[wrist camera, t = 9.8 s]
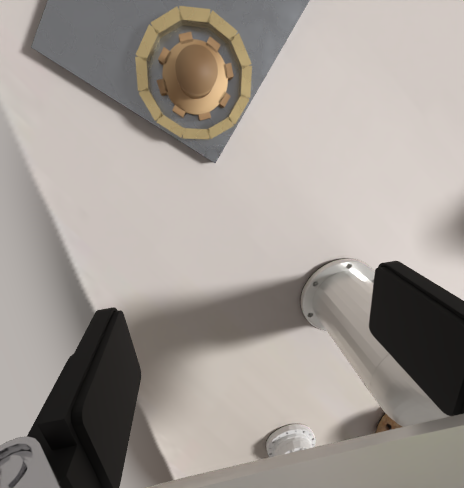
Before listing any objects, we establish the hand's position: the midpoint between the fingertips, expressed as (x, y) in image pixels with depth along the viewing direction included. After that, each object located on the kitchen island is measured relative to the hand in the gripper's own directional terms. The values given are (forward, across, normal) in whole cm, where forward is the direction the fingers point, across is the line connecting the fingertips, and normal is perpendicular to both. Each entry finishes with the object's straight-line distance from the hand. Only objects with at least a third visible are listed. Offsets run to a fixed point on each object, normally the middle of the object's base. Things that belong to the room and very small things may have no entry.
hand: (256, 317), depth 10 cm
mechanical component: (+27, -10, +52) cm, 60 cm away
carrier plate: (+26, 0, -18) cm, 32 cm away
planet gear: (+25, 0, -11) cm, 27 cm away
